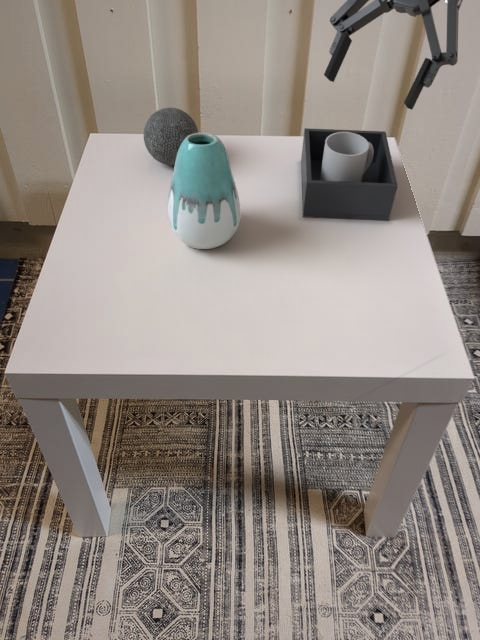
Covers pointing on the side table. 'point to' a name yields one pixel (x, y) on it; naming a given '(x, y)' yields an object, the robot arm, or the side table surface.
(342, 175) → the cup
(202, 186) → the vase
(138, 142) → the side table surface
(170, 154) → the decorative ball
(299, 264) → the side table surface
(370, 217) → the open box
